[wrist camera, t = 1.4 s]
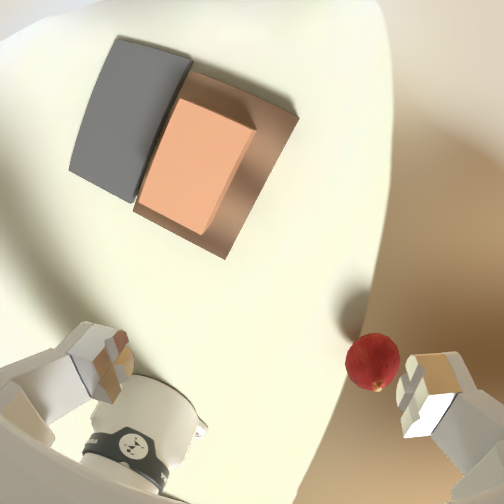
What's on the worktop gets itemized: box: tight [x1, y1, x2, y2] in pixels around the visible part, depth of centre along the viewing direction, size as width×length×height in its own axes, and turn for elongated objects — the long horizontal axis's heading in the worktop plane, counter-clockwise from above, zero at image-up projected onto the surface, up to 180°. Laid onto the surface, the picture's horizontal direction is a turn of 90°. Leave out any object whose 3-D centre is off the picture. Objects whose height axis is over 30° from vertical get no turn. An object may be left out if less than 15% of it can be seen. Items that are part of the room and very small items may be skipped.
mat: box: [69, 39, 193, 204], centre depth 25 cm, size 15×9×1 cm, turn 154°
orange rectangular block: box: [138, 98, 257, 235], centre depth 23 cm, size 9×6×3 cm, turn 154°
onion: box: [345, 333, 400, 391], centre depth 27 cm, size 6×6×8 cm
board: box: [133, 70, 299, 260], centre depth 25 cm, size 14×10×2 cm
